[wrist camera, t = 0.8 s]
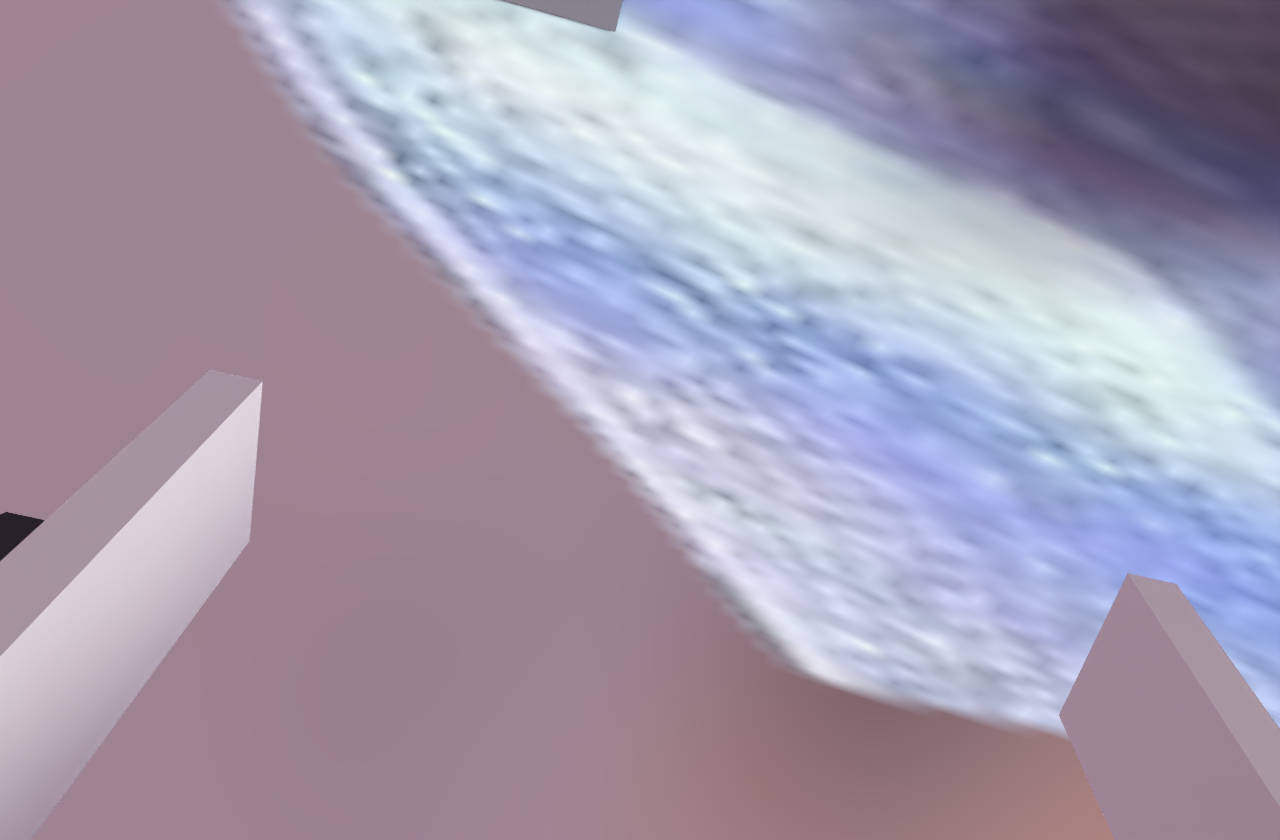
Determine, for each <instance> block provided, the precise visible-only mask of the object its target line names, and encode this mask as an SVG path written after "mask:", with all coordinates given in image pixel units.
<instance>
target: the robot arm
mask: <svg viewBox="0 0 1280 840" xmlns="http://www.w3.org/2000/svg"><path fill="white" fill-rule="evenodd" d="M261 394H262V381H259V380H254V379H250V378H246V377H241V376H236V375H231V374H228V373H223V372H219V371H214V370H209V371H208V372H207V373H206V374H205V375H204V376H203V377H202V378H200V379H199V380H198V381H197V382H196V383H195V384H194V385H193V386H192V387H191V388H190V389H188V390H187V391H186V392H185V393H184V394H183V395H182V396H181V397H180V398H179V399H178V400H176V401H175V402H174V403H173V404H172V405H171V406H170V407H169V408H168V409H166V410H165V411H164V412H163V413H162V414H161V415H160V416H159V417H158V418H157V419H156V420H155V421H153V422H152V423H151V424H150V425H149V426H148V427H147V428H146V429H145V430H143V431H142V432H141V433H140V434H139V435H138V436H137V437H136V438H135V439H134V440H133V441H131V442H130V443H129V444H128V445H127V446H126V447H125V448H124V449H123V450H122V451H120V452H119V454H117V455H116V456H115V457H114V458H113V459H112V460H111V461H110V462H109V463H107V464H106V465H105V466H104V467H103V468H102V469H101V470H100V471H99V472H98V473H97V474H95V475H94V476H93V477H92V478H91V479H90V480H89V481H88V482H87V483H85V485H83V486H82V487H81V488H80V489H79V490H78V491H77V492H76V493H75V494H74V495H72V496H71V497H70V498H69V499H68V500H67V501H66V502H65V503H64V504H63V505H61V507H59V508H58V509H57V510H56V511H55V512H54V513H53V514H52V515H50V517H48V518H47V519H46V520H41V519H36V518H32V517H27V516H22V515H17V514H13V513H8V512H5V513H3V514H0V840H31V839H32V838H33V837H34V835H35V834H36V833H37V831H38V830H39V828H40V827H41V826H42V824H43V823H44V822H45V820H46V819H47V817H48V816H49V815H50V813H51V812H52V811H53V809H54V808H55V806H56V805H57V804H58V802H59V801H60V800H61V798H62V797H63V796H64V794H65V793H66V791H67V790H68V789H69V787H70V786H71V785H72V783H73V782H74V780H75V779H76V778H77V776H78V775H79V774H80V772H81V771H82V769H83V768H84V767H85V765H86V764H87V763H88V761H89V760H90V758H91V757H92V756H93V754H94V753H95V752H96V750H97V749H98V748H99V746H100V745H101V743H102V742H103V741H104V739H105V738H106V736H107V735H108V734H109V732H110V731H111V730H112V728H113V727H114V725H115V724H116V723H117V722H118V720H119V719H120V717H121V716H122V715H123V713H124V712H125V711H126V709H127V708H128V706H129V705H130V704H131V702H132V701H133V699H134V698H135V697H136V695H137V694H138V693H139V691H140V690H141V689H142V687H143V686H144V685H145V683H146V682H147V680H148V679H149V678H150V676H151V675H152V673H153V672H154V671H155V669H156V668H157V667H158V665H159V664H160V663H161V661H162V660H163V658H164V657H165V656H166V654H167V653H168V652H169V650H170V649H171V648H172V646H173V645H174V643H175V642H176V641H177V639H178V638H179V637H180V635H181V634H182V632H183V631H184V630H185V628H186V627H187V625H188V624H189V623H190V621H191V620H192V619H193V617H194V616H195V615H196V613H197V611H198V610H199V609H200V608H201V606H202V605H203V604H204V602H205V601H206V599H207V598H208V597H209V595H210V594H211V593H212V591H213V590H214V589H215V587H216V586H217V584H218V583H219V582H220V580H221V579H222V578H223V576H224V575H225V573H226V572H227V571H228V569H229V568H230V567H231V565H232V564H233V563H234V561H235V560H236V558H237V557H238V556H239V554H240V553H241V552H242V550H243V549H244V547H245V546H246V545H247V543H248V542H249V539H250V528H251V515H252V503H253V491H254V479H255V467H256V454H257V443H258V430H259V417H260V405H261ZM1059 716H1060V718H1061V721H1062V723H1063V725H1064V727H1065V730H1066V732H1067V734H1068V736H1069V739H1070V741H1071V743H1072V745H1073V747H1074V750H1075V752H1076V754H1077V756H1078V759H1079V761H1080V763H1081V765H1082V767H1083V770H1084V772H1085V774H1086V776H1087V779H1088V781H1089V783H1090V785H1091V788H1092V790H1093V792H1094V794H1095V797H1096V799H1097V801H1098V803H1099V805H1100V808H1101V810H1102V812H1103V814H1104V816H1105V819H1106V821H1107V823H1108V826H1109V828H1110V830H1111V832H1112V834H1113V837H1114V839H1115V840H1280V729H1279V727H1278V726H1277V724H1276V723H1275V722H1274V720H1273V719H1272V717H1271V716H1270V715H1269V713H1268V712H1267V710H1266V709H1265V708H1264V706H1263V705H1262V703H1261V702H1260V701H1259V699H1258V698H1257V696H1256V695H1255V694H1254V692H1253V691H1252V689H1251V688H1250V687H1249V685H1248V684H1247V682H1246V681H1245V680H1244V678H1243V677H1242V675H1241V674H1240V673H1239V671H1238V670H1237V668H1236V667H1235V666H1234V664H1233V663H1232V661H1231V660H1230V659H1229V657H1228V656H1227V654H1226V653H1225V652H1224V650H1223V649H1222V647H1221V646H1220V645H1219V643H1218V642H1217V640H1216V639H1215V638H1214V636H1213V635H1212V633H1211V632H1210V630H1209V629H1208V628H1207V626H1206V625H1205V623H1204V622H1203V621H1202V619H1201V618H1200V616H1199V615H1198V614H1197V612H1196V611H1195V609H1194V608H1193V607H1192V605H1191V604H1190V602H1189V601H1188V600H1187V598H1186V597H1185V595H1184V594H1183V593H1182V591H1181V590H1180V588H1179V587H1178V586H1177V584H1173V583H1169V582H1164V581H1160V580H1155V579H1151V578H1146V577H1142V576H1137V575H1133V574H1127V576H1126V578H1125V580H1124V582H1123V584H1122V586H1121V588H1120V591H1119V593H1118V595H1117V597H1116V599H1115V601H1114V603H1113V605H1112V607H1111V609H1110V611H1109V613H1108V615H1107V617H1106V619H1105V621H1104V624H1103V626H1102V628H1101V630H1100V632H1099V634H1098V636H1097V638H1096V640H1095V642H1094V644H1093V646H1092V648H1091V650H1090V652H1089V654H1088V656H1087V659H1086V661H1085V663H1084V665H1083V667H1082V669H1081V671H1080V673H1079V675H1078V677H1077V679H1076V681H1075V683H1074V685H1073V687H1072V689H1071V691H1070V694H1069V696H1068V698H1067V700H1066V702H1065V704H1064V706H1063V708H1062V710H1061V712H1060V714H1059Z"/></svg>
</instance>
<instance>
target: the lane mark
mask: <svg viewBox="0 0 1280 840" xmlns="http://www.w3.org/2000/svg"><path fill="white" fill-rule="evenodd" d="M504 1H508V2H511V3H515V4H519V5H522V6H526V7H529V8H533V9H536V10H540V11H543V12H547V13H550V14H554V15H557V16H561V17H565V18H568V19H572V20H575V21H579V22H582V23H586V24H589V25H593V26H596V27H600V28H603V29H607V30H610V31H614V32H615V30H616V26H617V22H618V17H619V13H620V9H621V5H622V1H623V0H504Z"/></svg>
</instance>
